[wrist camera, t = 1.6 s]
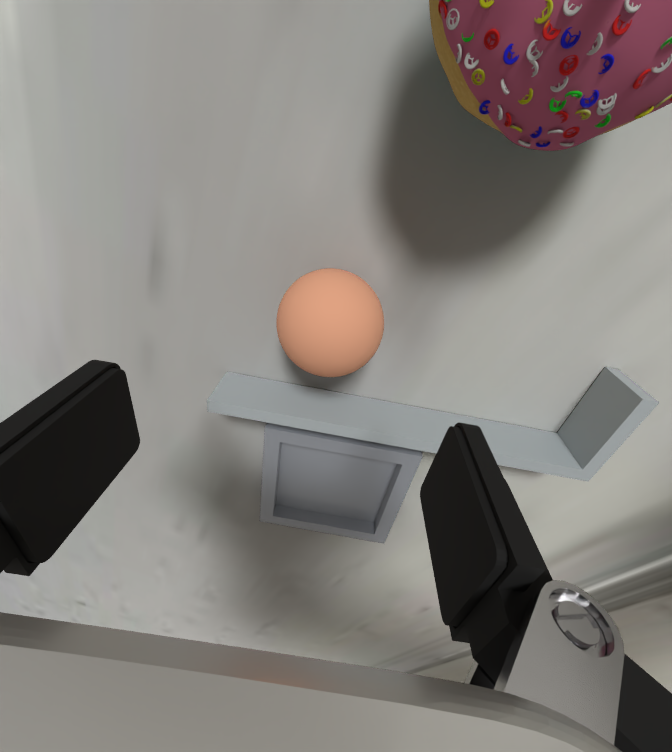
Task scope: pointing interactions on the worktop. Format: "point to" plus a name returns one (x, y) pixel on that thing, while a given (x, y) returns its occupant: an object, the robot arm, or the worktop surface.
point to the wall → (449, 421)
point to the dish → (333, 482)
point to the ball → (330, 322)
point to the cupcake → (555, 64)
